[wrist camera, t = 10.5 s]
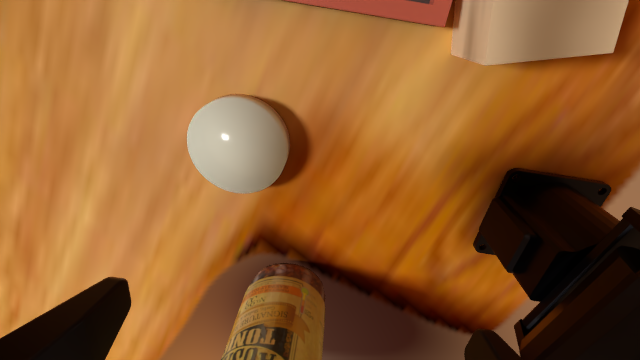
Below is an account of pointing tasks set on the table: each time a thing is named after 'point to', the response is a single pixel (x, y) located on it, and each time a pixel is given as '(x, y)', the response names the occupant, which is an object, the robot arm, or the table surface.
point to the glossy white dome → (238, 143)
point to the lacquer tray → (392, 9)
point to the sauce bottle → (280, 317)
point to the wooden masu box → (534, 29)
